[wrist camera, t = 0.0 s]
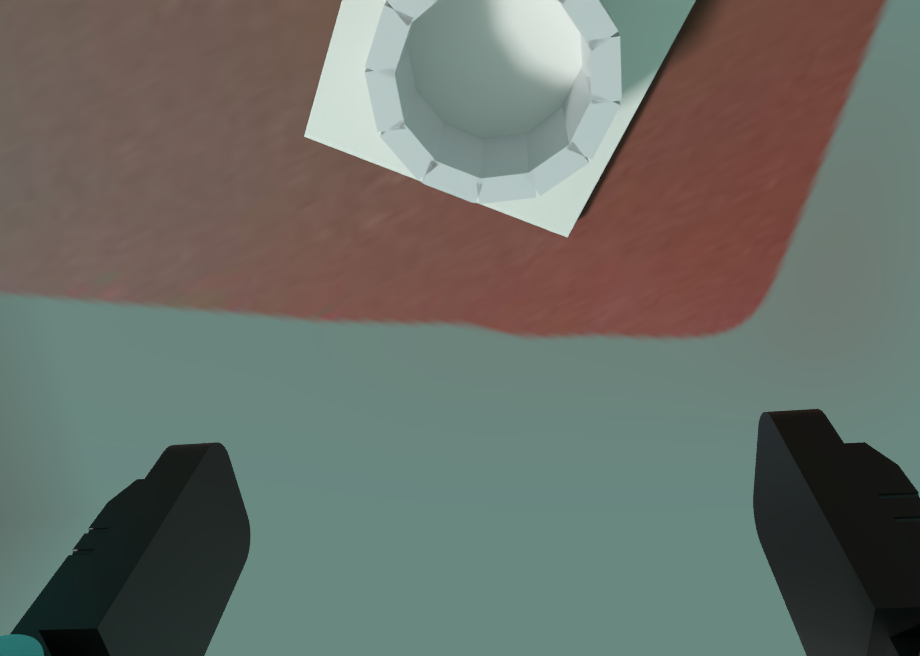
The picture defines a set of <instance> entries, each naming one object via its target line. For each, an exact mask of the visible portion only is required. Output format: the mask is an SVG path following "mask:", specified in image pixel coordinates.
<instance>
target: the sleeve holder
mask: <svg viewBox="0 0 920 656" xmlns="http://www.w3.org/2000/svg"><path fill="white" fill-rule="evenodd" d="M695 1H696V0H342V3H341V6H340V10H339V13H338V17H337V21H336V24H335V28H334V31H333V35H332V38H331V42H330V46H329V49H328V53H327V56H326V60H325V63H324V67H323V71H322V74H321V78H320V81H319V85H318V89H317V92H316V96H315V99H314V103H313V106H312V110H311V114H310V117H309V121H308V124H307V128H306V131H305V135H304V137H307V138H309V139H312V140H315V141H317V142H320V143H323V144H325V145H328V146H330V147H333V148H336V149H338V150H341V151H343V152H346V153H349V154H351V155H354V156H356V157H359V158H362V159H364V160H367V161H369V162H372V163H375V164H377V165H380V166H382V167H385V168H388V169H390V170H393V171H395V172H398V173H401V174H403V175H406V176H409V177H411V178H414V179H416V180H419V181H422V183H423V184H425V185H428V186H431V187H433V188H436V189H439V190H441V191H444V192H446V193H449V194H452V195H454V196H457V197H459V198H462V199H465V200H467V201H470V202H472V203H475V202H476V203H479V204H481V205H484V206H487V207H489V208H492V209H495V210H497V211H500V212H502V213H505V214H508V215H510V216H513V217H515V218H518V219H521V220H523V221H526V222H528V223H531V224H534V225H536V226H539V227H541V228H544V229H547V230H549V231H552V232H554V233H557V234H560V235H562V236H565V237H568V235H569V233H570V232H571V230H572V228H573V226H574V224H575V222H576V220H577V219H578V217H579V215H580V213H581V211H582V209H583V208H584V206H585V204H586V202H587V200H588V198H589V197H590V195H591V193H592V191H593V189H594V187H595V185H596V184H597V182H598V180H599V178H600V176H601V174H602V173H603V171H604V169H605V167H606V165H607V163H608V161H609V160H610V158H611V156H612V154H613V152H614V150H615V149H616V147H617V145H618V143H619V141H620V139H621V137H622V136H623V134H624V132H625V130H626V128H627V126H628V125H629V123H630V121H631V119H632V117H633V115H634V113H635V112H636V110H637V108H638V106H639V104H640V102H641V101H642V99H643V97H644V95H645V93H646V91H647V89H648V88H649V86H650V84H651V82H652V80H653V78H654V77H655V75H656V73H657V71H658V69H659V67H660V66H661V64H662V62H663V60H664V58H665V56H666V54H667V53H668V51H669V49H670V47H671V45H672V43H673V42H674V40H675V38H676V36H677V34H678V32H679V30H680V29H681V27H682V25H683V23H684V21H685V19H686V18H687V16H688V14H689V12H690V10H691V8H692V6H693V5H694V3H695Z"/></svg>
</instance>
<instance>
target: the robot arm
mask: <svg viewBox="0 0 920 656" xmlns="http://www.w3.org/2000/svg"><path fill="white" fill-rule="evenodd" d="M753 508H754V518H755V523H756V529H757V533H758V537H759V540H760V543H761V545H762V548H763V550H764V553H765V555H766V558H767V560H768V562H769V565H770V567H771V569H772V572H773V575H774V577H775V579H776V582H777V584H778V587H779V589H780V592H781V594H782V596H783V599H784V601H785V604H786V606H787V609H788V611H789V613H790V616H791V618H792V621H793V623H794V626H795V628H796V631H797V633H798V635H799V638H800V640H801V643H802V645H803V647H804V650H805V652H806V655H807V656H920V498H919V496H918V491H917V490H916V489H915V487H914V486H913V485H912V483H911V482H910V480H909V479H908V478H907V476H906V475H905V474H904V472H903V471H902V470H901V468H900V467H899V466H898V465H897V464H896V463H894V462H893V461H891V460H890V459H888V458H887V457H885V456H884V455H882V454H881V453H880V452H878V451H877V450H875V449H873V448H872V447H871V446H869V445H868V444H866V443H865V442H864V443H845V444H844V443H843V441H842V440H841V438H840V437H839V435H838V434H837V432H836V430H835V429H834V427H833V426H832V425H831V423H830V422H829V420H828V419H827V417H826V415H825V414H824V413H823V412H822V411H821V410H819V409H809V410H792V411H775V412H763V413H762V415H761V417H760V420H759V427H758V441H757V453H756V467H755V481H754V494H753ZM249 547H250V525H249V520H248V516H247V513H246V509H245V507H244V503H243V500H242V497H241V493H240V490H239V487H238V484H237V480H236V478H235V474H234V471H233V468H232V464H231V461H230V458H229V455H228V452H227V450H226V449H225V447H224V446H223V445H222V444H221V443H202V444H185V445H172V446H169V447H168V448H166V450H165V451H164V452H163V454H162V455H161V456H160V458H159V459H158V461H157V462H156V464H155V465H154V466H153V468H152V469H151V471H150V472H149V473H148V475H147V476H146V478H145V479H138V480H136V481H134V482H133V483H132V484H131V485H130V486H128V487H127V488H126V489H124V490H123V491H122V492H120V493H119V494H118V495H117V496H116V497H114V498H113V499H112V500H110V501H109V502H108V503H107V504H106V506H105V507H104V508H103V510H102V511H101V512H100V514H99V515H98V516H97V518H96V519H95V520H94V522H93V523H92V524H91V526H90V527H89V533H87V534H84V535H83V536H82V538H81V539H80V541H79V542H78V543H77V545H76V546H75V547H74V549H73V554H72V555H69V556H68V557H67V558H66V560H65V561H64V562H63V563H62V565H61V566H60V568H59V569H58V570H57V572H56V573H55V574H54V576H53V577H52V578H51V580H50V581H49V582H48V584H47V585H46V586H45V588H44V589H43V590H42V592H41V593H40V594H39V596H38V597H37V599H36V600H35V601H34V603H33V604H32V605H31V607H30V608H29V609H28V611H27V612H26V613H25V615H24V616H23V618H22V619H21V620H20V622H19V623H18V624H17V625H16V627H15V628H14V630H13V631H12V632H11V634H10V635H3V636H0V656H204V655H205V653H206V650H207V648H208V646H209V644H210V641H211V639H212V637H213V635H214V632H215V630H216V628H217V625H218V623H219V621H220V619H221V617H222V614H223V612H224V610H225V607H226V605H227V603H228V601H229V598H230V596H231V594H232V591H233V589H234V587H235V585H236V583H237V580H238V578H239V576H240V574H241V571H242V569H243V567H244V565H245V562H246V560H247V557H248V553H249Z"/></svg>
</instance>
